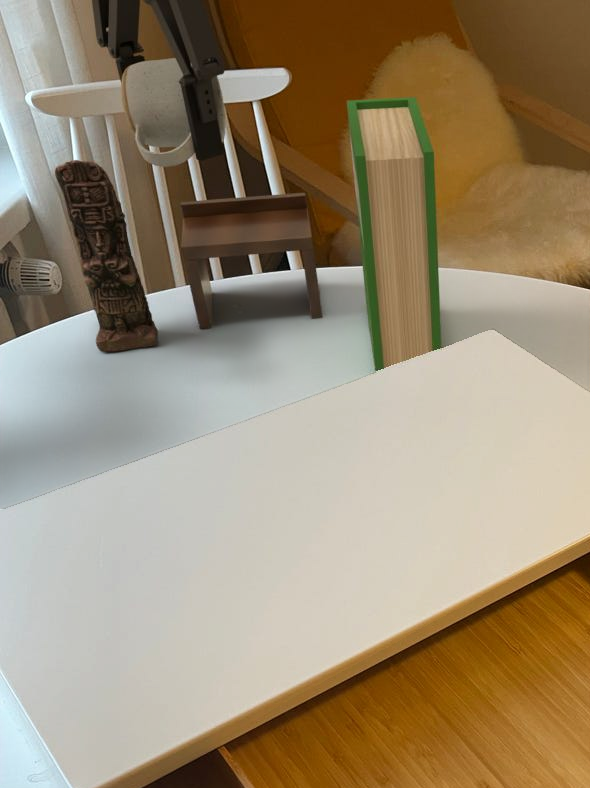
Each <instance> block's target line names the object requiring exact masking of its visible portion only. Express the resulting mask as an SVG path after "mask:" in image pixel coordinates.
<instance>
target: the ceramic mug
mask: <svg viewBox="0 0 590 788" xmlns="http://www.w3.org/2000/svg"><path fill="white" fill-rule="evenodd" d="M209 61H210V59H209ZM191 66H192V65H191ZM183 76H184V75H183V73H182V71H181V69H180V67H179V65H178V63H177V61H176V58H175V57H173V58H172V57H171V58H163V59H155V60H145V61H143V62H139V63H136V64H133V65H131V66H128V67H127V68H126V69H125V71H124V73H123V76H122V81H120V95H121V103H122V107H123V111H124V112H123V113H124V116H125V119H126V123H127V124H128V126H129V129H130V131H131V133H132V134H133V136H134V138H135V142H136V146H137V149H138V151H139V153H140V154H141V156H142V158H143V159H144V160H145V161H146V162H147V163H149V164H150V165H154V166H155V167H160V168H170V167H175V166H179V165H180V164H183V163H185V162H187V161H188V160H189V159H191V158H192V157H193V156H194V155H195V150H194V146H193V141H192V136H191V132H190V127H189V122H188V118H187V113H186V108H185V104H184V99H183V94H182V90H181V85H180V83H179V82H178V81H180V79H181V78H182V77H183ZM212 89H213V94H214V99H215V104H216V109H217V118H218V123H219V129H220V134H221V139H222V144H223V143H224V141H225V136H226V127H227V125H226V124H227V122H226V110H225V103H224V97H223V92H222V89H221V84H220V81H219V78H218V76H216V77H214V78H213V79H212ZM146 146H149V147H153V148H154V147H155V148H174V149H171V150H168V151H163V152H162V151H160V152H158V151H157V152H156V151H151V150H149V149H147V148H146Z"/></svg>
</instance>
